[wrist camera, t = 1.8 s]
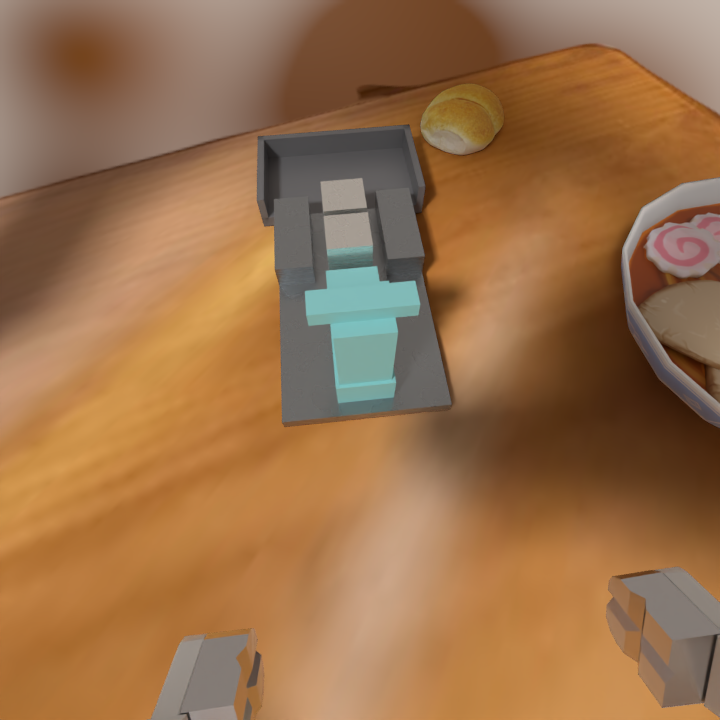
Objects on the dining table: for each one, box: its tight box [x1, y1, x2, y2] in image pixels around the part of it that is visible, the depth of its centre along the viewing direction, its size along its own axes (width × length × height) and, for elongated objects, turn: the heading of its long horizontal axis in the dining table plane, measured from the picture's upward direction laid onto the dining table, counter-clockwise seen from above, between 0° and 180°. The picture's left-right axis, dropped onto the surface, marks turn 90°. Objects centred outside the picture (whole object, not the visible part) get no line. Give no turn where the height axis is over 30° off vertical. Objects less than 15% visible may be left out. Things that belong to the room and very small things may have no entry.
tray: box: [257, 125, 425, 226], centre depth 40 cm, size 15×9×3 cm, turn 96°
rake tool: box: [305, 266, 420, 403], centre depth 27 cm, size 6×10×10 cm, turn 6°
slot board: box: [274, 188, 452, 427], centre depth 33 cm, size 12×20×3 cm, turn 6°
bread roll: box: [420, 84, 504, 155], centre depth 44 cm, size 8×9×4 cm
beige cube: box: [324, 212, 373, 270], centre depth 33 cm, size 4×4×4 cm
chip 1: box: [321, 178, 367, 216], centre depth 35 cm, size 4×4×4 cm
